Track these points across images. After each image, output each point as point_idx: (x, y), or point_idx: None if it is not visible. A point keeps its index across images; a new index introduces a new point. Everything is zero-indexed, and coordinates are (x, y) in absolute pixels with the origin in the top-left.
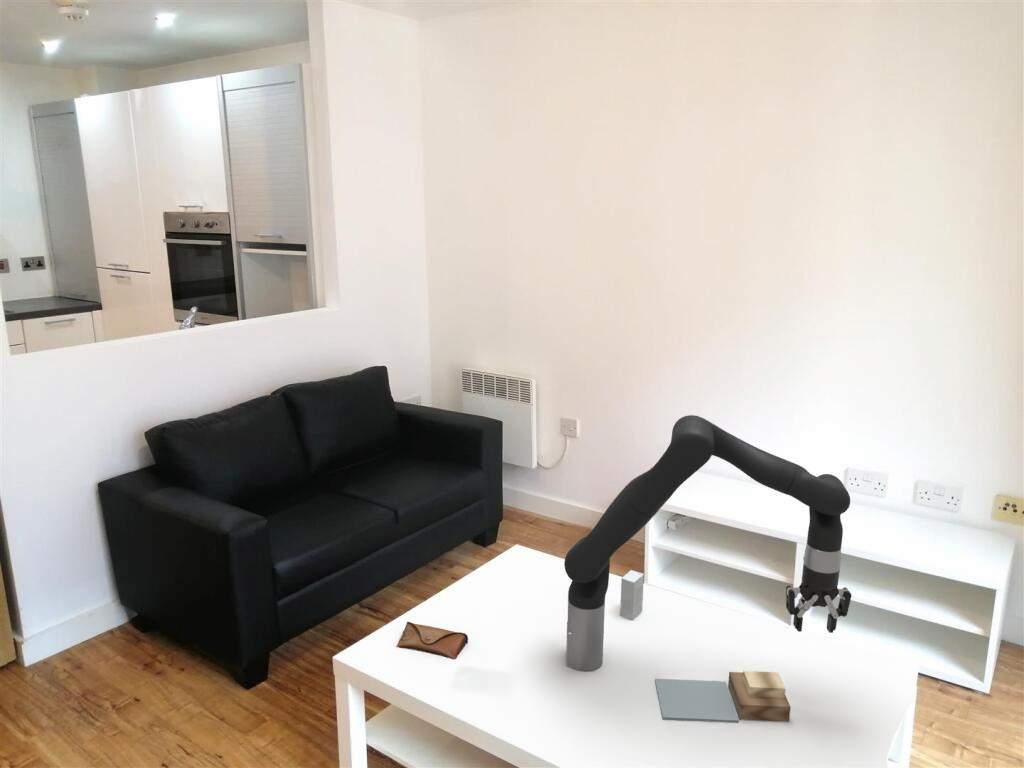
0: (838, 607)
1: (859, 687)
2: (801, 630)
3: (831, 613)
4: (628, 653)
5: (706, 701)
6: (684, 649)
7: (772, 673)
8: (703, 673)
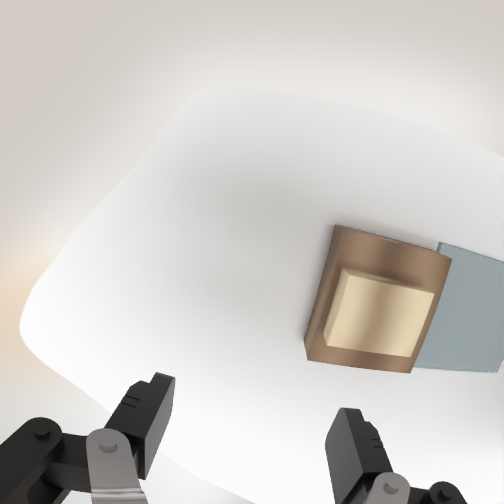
0: (65, 491)
1: (108, 308)
2: (344, 411)
3: (136, 475)
4: (482, 429)
5: (465, 308)
6: (402, 447)
7: (345, 342)
8: (416, 391)
